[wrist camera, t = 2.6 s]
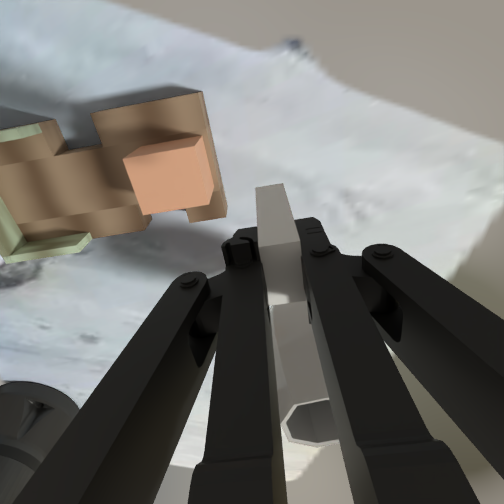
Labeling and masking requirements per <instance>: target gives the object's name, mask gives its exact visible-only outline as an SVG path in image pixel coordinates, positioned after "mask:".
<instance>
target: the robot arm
mask: <svg viewBox="0 0 504 504" xmlns="http://www.w3.org/2000/svg"><path fill="white" fill-rule="evenodd" d="M255 190H256V210H257V227H250V228H244V229H238V230H237V231H236V232H235V234H234V235H233V238H230V239H228V240H227V241H225V242H224V243H223V244H222V246H221V248H222V252H223V256H224V260H225V264H226V270H225V271H224V272H223V273H221V274H219V275H217V276H214V277H212V278H209V279H207V277H206V275H205V274H204V273H202V272H188V273H185V274H182V275H181V276H179V277H177V278H176V279H175V280H174V281H173V282H172V283H171V285H170V286H169V288H168V289H167V290H166V292H165V293H164V294H163V296H162V297H161V299H160V300H159V301H158V303H157V304H156V305H155V307H154V308H153V310H152V311H151V312H150V314H149V315H148V317H147V318H146V319H145V321H144V322H143V323H142V325H141V326H140V328H139V329H138V330H137V332H136V333H135V334H134V336H133V337H132V339H131V340H130V341H129V343H128V344H127V346H126V347H125V348H124V350H123V351H122V352H121V354H120V355H119V357H118V358H117V359H116V361H115V362H114V364H113V365H112V366H111V368H110V369H109V370H108V372H107V373H106V375H105V376H104V377H103V379H102V380H101V381H100V383H99V384H98V386H97V387H96V388H95V390H94V391H93V393H92V394H91V395H90V397H89V398H88V399H87V401H86V402H85V404H84V405H83V406H82V408H81V409H79V408H78V406H77V405H76V404H75V403H74V401H72V400H71V399H70V398H69V397H68V396H66V395H65V394H63V393H61V392H59V391H57V390H55V389H53V388H50V387H47V386H44V385H40V384H35V383H28V382H14V383H8V384H4V385H1V386H0V504H153V503H154V500H155V498H156V495H157V493H158V490H159V488H160V485H161V483H162V481H163V478H164V476H165V473H166V471H167V468H168V466H169V464H170V461H171V459H172V456H173V454H174V451H175V449H176V446H177V444H178V442H179V439H180V437H181V434H182V432H183V429H184V427H185V425H186V422H187V420H188V417H189V415H190V412H191V410H192V407H193V405H194V403H195V400H196V398H197V395H198V393H199V390H200V388H201V386H202V383H203V381H204V378H205V376H206V373H207V371H208V368H209V366H210V364H211V361H212V359H213V356H214V354H215V351H216V356H215V365H214V374H213V382H212V391H211V400H210V408H209V417H208V426H207V434H206V443H205V451H204V457H203V459H202V462H200V463H199V464H197V465H196V467H195V469H194V471H193V475H192V480H191V485H190V491H189V498H188V504H288V503H287V492H286V481H285V470H284V459H283V448H282V437H281V426H280V415H279V404H278V392H277V381H276V370H275V359H274V348H273V337H272V326H271V315H270V309H269V306H271V305H278V304H286V303H293V302H301V301H306V298H307V308H308V318H309V324H311V325H312V330H313V334H314V338H315V342H316V346H317V350H318V355H319V359H320V363H321V367H322V371H323V375H324V380H325V384H326V388H327V392H328V396H329V400H330V405H331V409H332V413H333V417H334V421H335V425H336V430H337V434H338V438H339V442H340V446H341V450H342V454H343V459H344V462H345V467H346V471H347V475H348V480H349V484H350V488H351V492H352V496H353V500H354V504H480V502H479V501H478V499H477V497H476V495H475V493H474V491H473V489H472V487H471V485H470V484H469V482H468V480H467V478H466V476H465V474H464V472H463V471H462V469H461V467H460V465H459V463H458V461H457V459H456V458H455V456H454V455H453V453H452V451H451V450H450V448H449V447H448V446H447V445H446V444H445V443H444V442H443V441H441V440H437V439H434V438H433V437H432V436H431V435H430V433H429V431H428V429H427V428H426V426H425V424H424V422H423V420H422V418H421V416H420V414H419V411H418V409H417V407H416V405H415V403H414V401H413V399H412V397H411V395H410V393H409V391H408V389H407V387H406V385H405V383H404V381H403V379H402V377H401V375H400V373H399V371H398V369H397V367H396V365H395V363H394V361H393V359H392V357H391V355H390V353H389V351H388V349H387V347H386V345H385V343H386V344H387V345H388V346H389V347H390V348H391V349H392V351H393V352H394V353H395V354H396V355H397V356H398V358H399V359H400V360H401V361H402V362H403V363H404V364H405V366H406V367H407V368H408V369H409V370H410V371H411V373H412V374H413V375H414V376H415V377H416V378H417V380H418V381H419V382H420V383H421V384H422V385H423V387H424V388H425V389H426V390H427V391H428V392H429V393H430V395H431V396H432V397H433V398H434V399H435V400H436V401H437V403H438V404H439V405H440V406H441V407H442V409H444V411H445V412H446V413H447V414H448V415H449V417H450V418H451V419H452V420H453V421H454V422H455V424H456V425H457V426H458V427H459V428H460V429H461V431H462V432H463V433H464V434H465V435H466V436H467V437H468V439H469V440H470V441H471V442H472V443H473V444H474V446H475V447H476V448H477V449H478V450H479V451H480V453H481V454H482V455H483V456H484V457H485V458H486V460H487V461H488V462H489V463H490V464H491V465H492V466H493V468H494V469H495V470H496V471H497V472H498V473H499V475H500V476H501V477H502V478H503V479H504V320H503V319H501V318H500V317H499V316H497V315H496V314H494V313H493V312H491V311H490V310H488V309H487V308H485V307H484V306H483V305H481V304H480V303H478V302H477V301H475V300H474V299H472V298H471V297H469V296H468V295H466V294H465V293H463V292H462V291H460V290H459V289H458V288H456V287H455V286H453V285H452V284H450V283H449V282H448V281H446V280H445V279H443V278H442V277H440V276H439V275H437V274H436V273H435V272H433V271H432V270H430V269H429V268H427V267H426V266H424V265H423V264H421V263H420V262H419V261H417V260H416V259H414V258H413V257H411V256H410V255H408V254H407V253H405V252H404V251H403V250H401V249H400V248H398V247H395V246H393V245H388V244H375V245H370V246H368V247H366V248H365V249H364V250H363V251H362V256H350V255H344V254H341V253H340V251H339V249H338V248H337V247H336V246H334V245H332V244H330V242H329V240H328V237H327V235H326V233H325V232H324V229H323V227H322V225H321V222H320V221H319V220H317V219H316V218H314V217H310V218H303V219H297V220H294V218H293V215H292V212H291V208H290V205H289V202H288V198H287V195H286V192H285V188H284V185H283V183H282V184H276V185H269V186H263V187H257V188H255ZM383 340H384V341H385V343H384V341H383Z"/></svg>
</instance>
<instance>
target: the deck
mask: <svg viewBox="0 0 504 504" xmlns="http://www.w3.org/2000/svg"><path fill="white" fill-rule="evenodd" d="M90 115H91V117H92V120H93V122H94V125H95V127H96V130H97V133H98V135H99V138H100V140H101V143H102V144H98V145H93V146H87V147H82V148H76V149H71V150H69V149H68V146H67V144H66V142H65V140H64V137H63V135H62V133H61V131H60V128H59V126H58V124H57V122H56V119H54V120H48V121H43V122H38V123H33V124H27V125H22V126H17V127H11V128H6V129H1V130H0V254H1V256H2V258H3V259H4V261H5V262H6V264H8V263H14V262H20V261H27V260H33V259H40V258H46V257H52V256H59V255H65V254H71V253H78V252H80V251H81V250H82V249H83V248H84V247H85V246H86V245H87V244H88V243H89V242H90V241H91V240H92V239H93V238H99V237H106V236H112V235H118V234H124V233H131V232H137V231H143V230H145V229H146V228H147V226H148V225H149V223H150V222H151V220H152V217H151V214H148V215H143V214H142V211H141V208H140V206H139V203H138V200H137V197H136V195H135V192H134V189H133V186H132V184H131V181H130V178H129V176H128V173H127V170H126V167H125V165H124V162H123V158H124V157H126V156H127V155H129V154H130V153H132V152H133V151H135V150H136V149H138V148H139V147H141V146H146V145H151V144H157V143H163V142H168V141H174V140H179V139H185V138H190V137H196V136H203V141H204V145H205V149H206V154H207V158H208V162H209V166H210V171H211V175H212V179H213V184H214V189H213V192H212V196H211V199H210V203H209V205H203V206H197V207H191V208H185V209H186V212H187V216H188V219H189V222H190V223H193V222H199V221H206V220H212V219H218V218H224V217H226V214H227V202H226V197H225V193H224V188H223V184H222V179H221V174H220V170H219V165H218V161H217V156H216V152H215V147H214V142H213V138H212V133H211V129H210V124H209V119H208V115H207V110H206V106H205V101H204V97H203V92H196V93H191V94H186V95H181V96H175V97H170V98H165V99H159V100H154V101H149V102H144V103H138V104H133V105H128V106H122V107H117V108H112V109H107V110H102V111H98V112H94V113H90Z"/></svg>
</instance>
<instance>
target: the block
mask: <svg viewBox="0 0 504 504" xmlns="http://www.w3.org/2000/svg"><path fill="white" fill-rule="evenodd" d="M123 162H124V165H125V167H126V170H127V173H128V176H129V178H130V181H131V184H132V186H133V189H134V192H135V195H136V197H137V200H138V203H139V206H140V208H141V211H142V214H143V215H148V214H154V213H160V212H166V211H172V210H179V209H185V208H191V207H197V206H203V205H209V203H210V199H211V196H212V192H213V189H214V184H213V179H212V175H211V171H210V166H209V162H208V158H207V154H206V149H205V145H204V141H203V136H196V137H190V138H185V139H179V140H174V141H168V142H163V143H157V144H151V145H146V146H141V147H139V148H138V149H136V150H135V151H133V152H132V153H130V154H129V155H127V156H126V157H124V158H123Z"/></svg>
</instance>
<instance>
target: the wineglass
mask: <svg viewBox="0 0 504 504" xmlns="http://www.w3.org/2000/svg"><path fill="white" fill-rule="evenodd" d="M270 315H271V326H272V337H273V348H274V359H275V370H276V381H277V392H278V404H279V415H280V424H281V426H282V429H283V431H284V433H285V435H286V437H287V439H288V441H289V442H292V443H297V444H302V445H307V446H312V447H322V446H327V445H333V444H338V443H340V442H339V438H338V434H337V430H336V425H335V421H334V417H333V413H332V409H331V405H330V400H329V396H328V392H327V388H326V384H325V380H324V375H323V371H322V367H321V363H320V359H319V355H318V350H317V346H316V342H315V338H314V334H313V330H312V325H311V324H309V318H308V308H307V298H306V301H301V302H293V303H286V304H278V305H272V306H271V308H270Z"/></svg>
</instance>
